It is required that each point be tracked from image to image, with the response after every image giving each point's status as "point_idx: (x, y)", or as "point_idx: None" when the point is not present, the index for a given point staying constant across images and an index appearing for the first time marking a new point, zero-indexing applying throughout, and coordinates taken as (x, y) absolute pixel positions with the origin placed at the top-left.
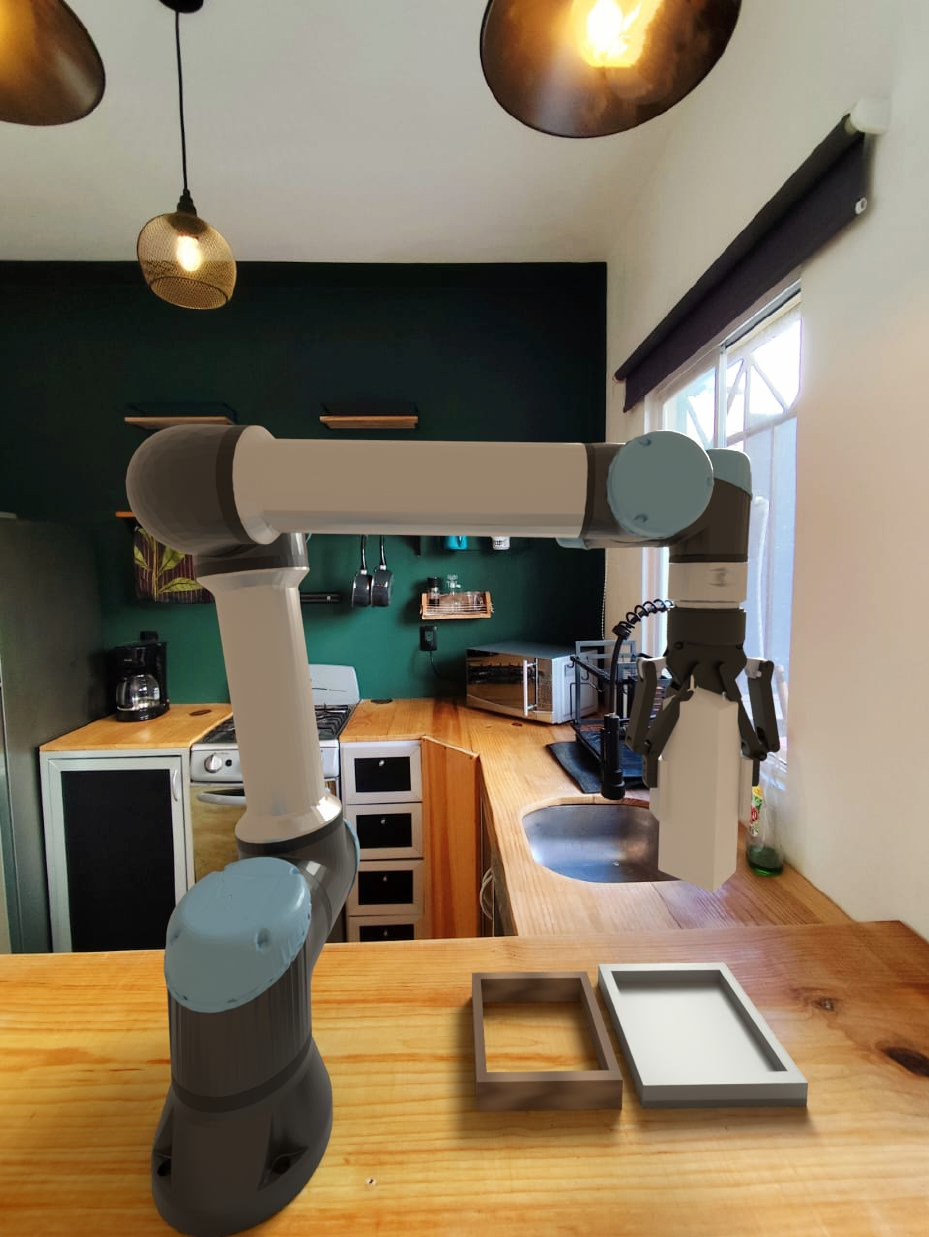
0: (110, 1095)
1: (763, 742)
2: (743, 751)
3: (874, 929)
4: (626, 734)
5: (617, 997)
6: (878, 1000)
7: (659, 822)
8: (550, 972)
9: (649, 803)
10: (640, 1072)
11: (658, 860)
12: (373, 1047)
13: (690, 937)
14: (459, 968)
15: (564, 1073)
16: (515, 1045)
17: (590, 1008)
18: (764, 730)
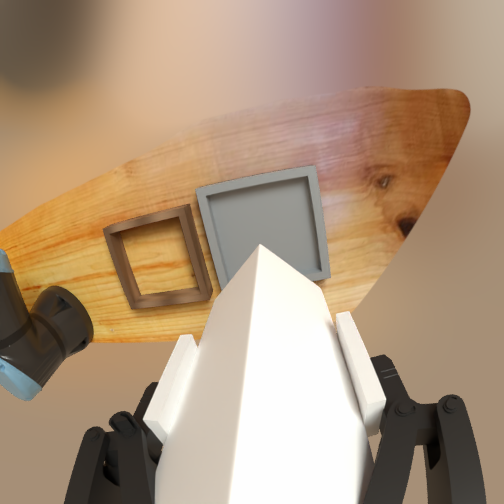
0: (25, 304)
1: (423, 443)
2: (384, 418)
3: (452, 97)
4: (82, 447)
5: (209, 226)
6: (420, 175)
7: (200, 340)
8: (154, 215)
9: (177, 342)
10: (221, 288)
11: (212, 306)
12: (80, 272)
13: (296, 109)
14: (98, 199)
15: (174, 299)
16: (146, 258)
17: (187, 247)
18: (429, 470)
